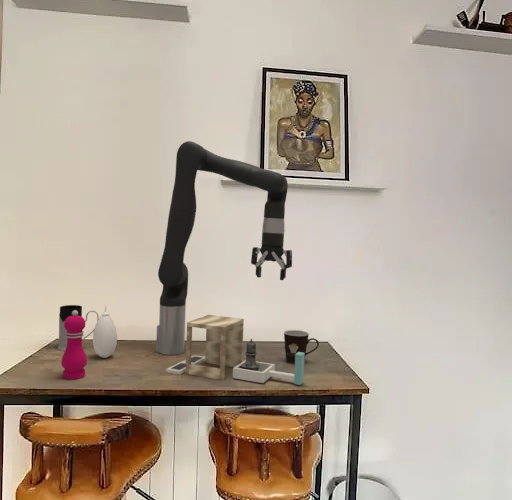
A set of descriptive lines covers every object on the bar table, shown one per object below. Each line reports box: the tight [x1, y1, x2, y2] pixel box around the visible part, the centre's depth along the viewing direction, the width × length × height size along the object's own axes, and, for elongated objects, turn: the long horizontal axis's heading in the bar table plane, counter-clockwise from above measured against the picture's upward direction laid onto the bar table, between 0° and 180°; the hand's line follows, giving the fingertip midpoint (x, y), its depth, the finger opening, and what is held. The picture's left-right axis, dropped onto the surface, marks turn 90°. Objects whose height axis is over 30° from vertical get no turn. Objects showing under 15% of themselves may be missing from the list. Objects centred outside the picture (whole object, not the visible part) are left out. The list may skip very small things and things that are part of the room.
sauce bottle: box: [92, 305, 118, 359], centre depth 165 cm, size 8×8×18 cm
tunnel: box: [185, 314, 245, 381], centre depth 155 cm, size 13×14×16 cm
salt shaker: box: [241, 338, 260, 371], centre depth 151 cm, size 6×6×12 cm
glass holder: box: [57, 304, 100, 352], centre depth 176 cm, size 9×14×15 cm, turn 94°
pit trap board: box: [165, 354, 206, 376], centre depth 160 cm, size 5×18×1 cm, turn 158°
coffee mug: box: [283, 329, 320, 365], centre depth 168 cm, size 12×9×10 cm
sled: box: [232, 352, 306, 386], centre depth 149 cm, size 20×10×9 cm, turn 68°
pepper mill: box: [60, 310, 88, 380], centre depth 145 cm, size 7×7×20 cm
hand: (270, 278), depth 167 cm, fingers open, 8 cm apart
